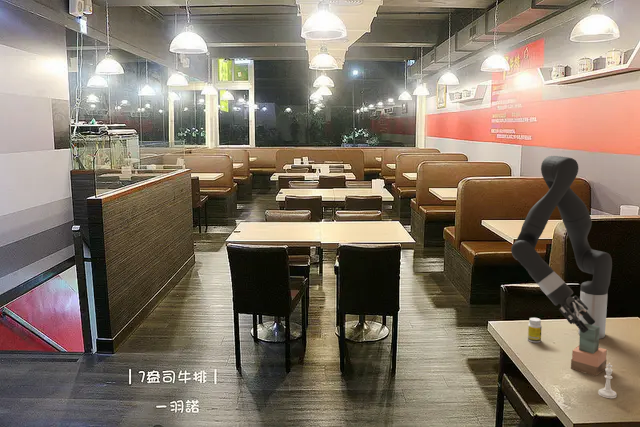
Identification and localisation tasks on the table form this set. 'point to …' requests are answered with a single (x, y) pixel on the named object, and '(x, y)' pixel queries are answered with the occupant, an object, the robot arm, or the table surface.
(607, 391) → the chess piece
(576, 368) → the walnut base block
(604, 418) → the table surface
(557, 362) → the table surface
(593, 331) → the green pillar block
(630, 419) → the table surface
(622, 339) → the table surface
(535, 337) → the supplement bottle
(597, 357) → the terracotta top block
